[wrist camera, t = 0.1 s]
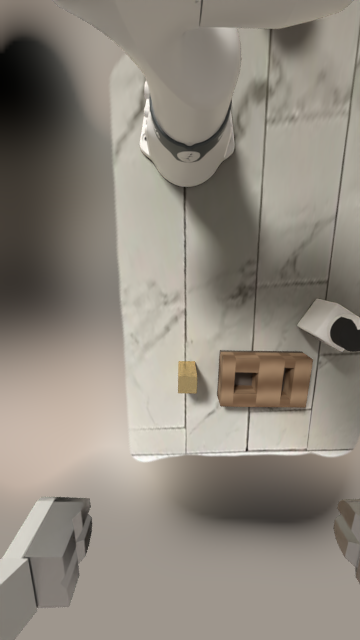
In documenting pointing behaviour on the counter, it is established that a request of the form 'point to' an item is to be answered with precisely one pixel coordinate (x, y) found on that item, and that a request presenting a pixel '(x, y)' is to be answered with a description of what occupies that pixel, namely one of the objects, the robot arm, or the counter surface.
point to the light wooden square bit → (187, 377)
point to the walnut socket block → (263, 378)
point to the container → (332, 325)
